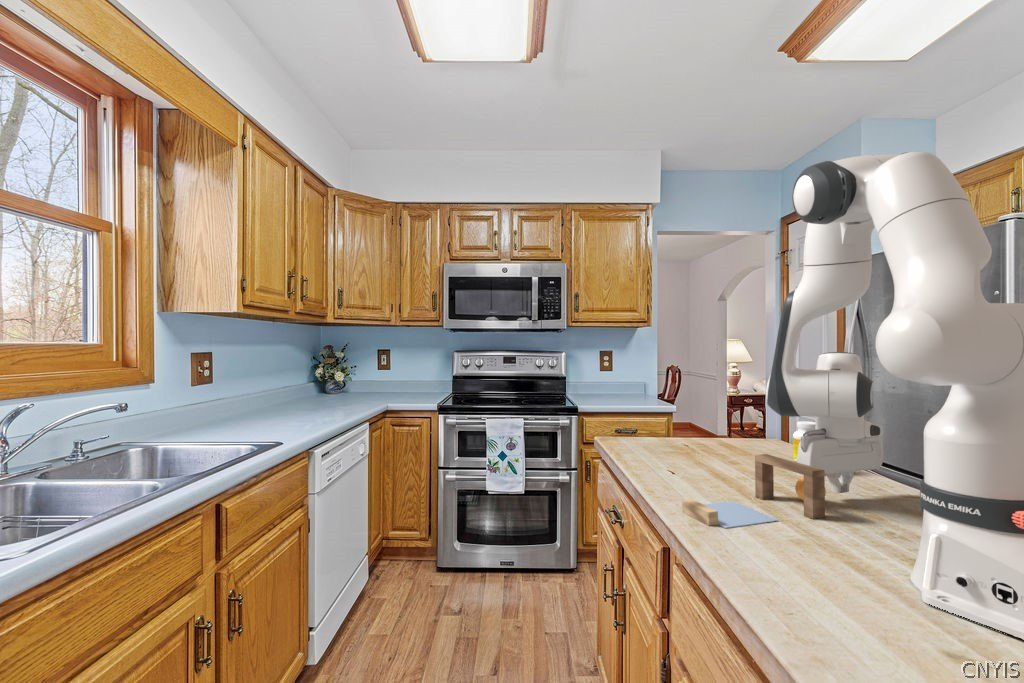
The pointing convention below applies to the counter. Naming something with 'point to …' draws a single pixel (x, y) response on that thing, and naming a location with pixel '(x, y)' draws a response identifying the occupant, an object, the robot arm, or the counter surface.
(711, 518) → the wall
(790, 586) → the counter surface
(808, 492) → the bridge
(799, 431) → the supplement bottle
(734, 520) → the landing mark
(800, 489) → the ball
